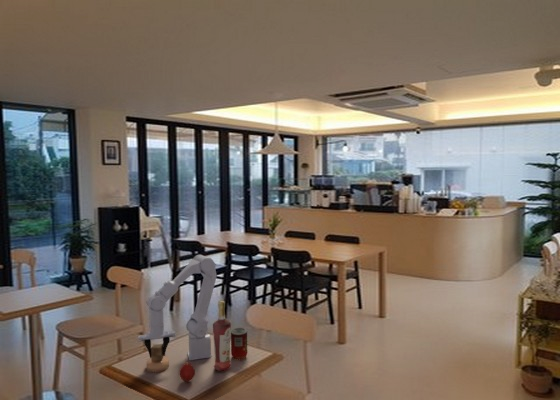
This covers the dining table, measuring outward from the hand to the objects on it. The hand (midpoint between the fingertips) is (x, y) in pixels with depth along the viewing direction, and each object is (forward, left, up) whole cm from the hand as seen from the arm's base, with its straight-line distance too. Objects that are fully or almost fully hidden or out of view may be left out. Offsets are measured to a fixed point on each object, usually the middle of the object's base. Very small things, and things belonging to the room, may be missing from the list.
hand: (157, 355), depth 168 cm
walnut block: (0, 0, -1) cm, 1 cm away
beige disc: (0, 0, -5) cm, 5 cm away
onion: (-10, +17, -5) cm, 20 cm away
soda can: (-34, +3, -5) cm, 34 cm away
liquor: (-25, +11, -5) cm, 28 cm away
